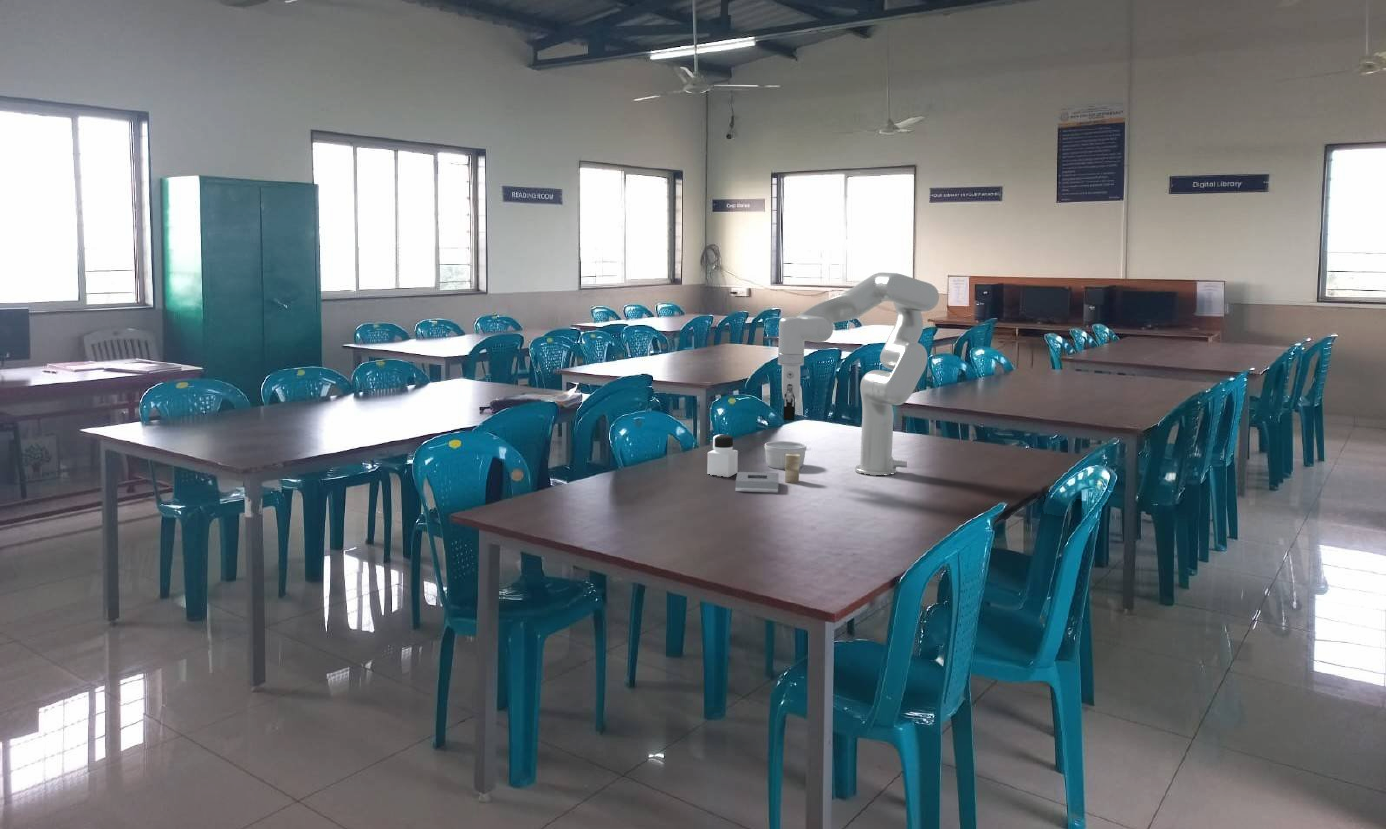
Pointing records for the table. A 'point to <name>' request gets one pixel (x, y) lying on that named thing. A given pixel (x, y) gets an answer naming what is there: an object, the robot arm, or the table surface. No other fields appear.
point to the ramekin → (783, 453)
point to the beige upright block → (792, 468)
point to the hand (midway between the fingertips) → (789, 417)
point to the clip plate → (757, 482)
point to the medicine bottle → (722, 457)
